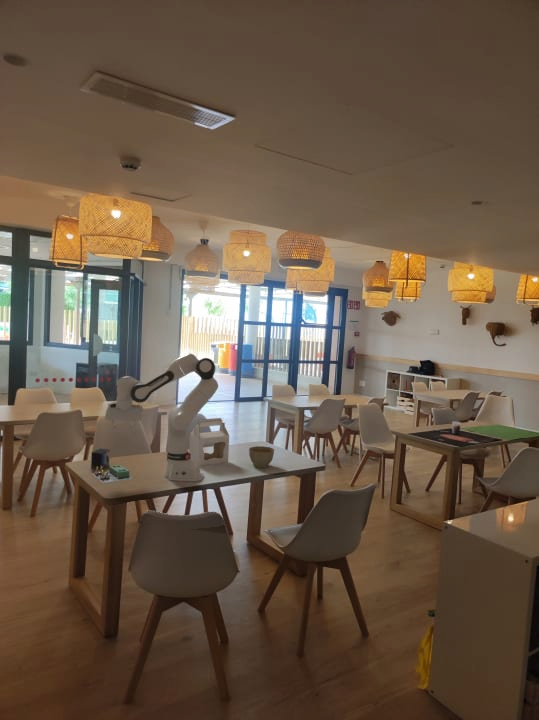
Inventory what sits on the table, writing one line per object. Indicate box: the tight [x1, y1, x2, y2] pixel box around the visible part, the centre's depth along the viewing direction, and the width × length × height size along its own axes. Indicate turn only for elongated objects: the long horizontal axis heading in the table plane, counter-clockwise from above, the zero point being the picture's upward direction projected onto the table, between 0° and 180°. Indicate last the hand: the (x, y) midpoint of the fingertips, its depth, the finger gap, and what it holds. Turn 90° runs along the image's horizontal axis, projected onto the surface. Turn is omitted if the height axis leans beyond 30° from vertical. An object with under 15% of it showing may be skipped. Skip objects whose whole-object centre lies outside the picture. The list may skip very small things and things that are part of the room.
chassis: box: [90, 466, 133, 484], centre depth 289 cm, size 20×17×6 cm
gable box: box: [188, 417, 230, 467], centre depth 331 cm, size 22×13×28 cm, turn 125°
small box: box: [90, 448, 111, 470], centre depth 306 cm, size 11×6×10 cm, turn 168°
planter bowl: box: [248, 445, 275, 469], centre depth 328 cm, size 16×16×11 cm
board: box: [108, 464, 130, 478], centre depth 294 cm, size 14×6×3 cm, turn 37°
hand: (123, 428), depth 296 cm, fingers open, 8 cm apart
